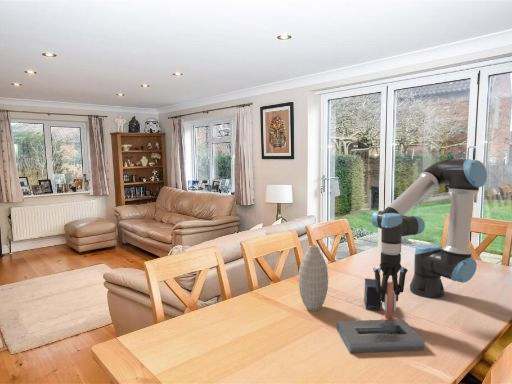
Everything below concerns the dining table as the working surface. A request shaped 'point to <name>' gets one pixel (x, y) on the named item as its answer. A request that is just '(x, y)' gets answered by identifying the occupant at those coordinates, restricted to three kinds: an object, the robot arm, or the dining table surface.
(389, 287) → the stud
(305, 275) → the vase
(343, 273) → the dining table surface
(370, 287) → the small box
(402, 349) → the grey slotted plate
